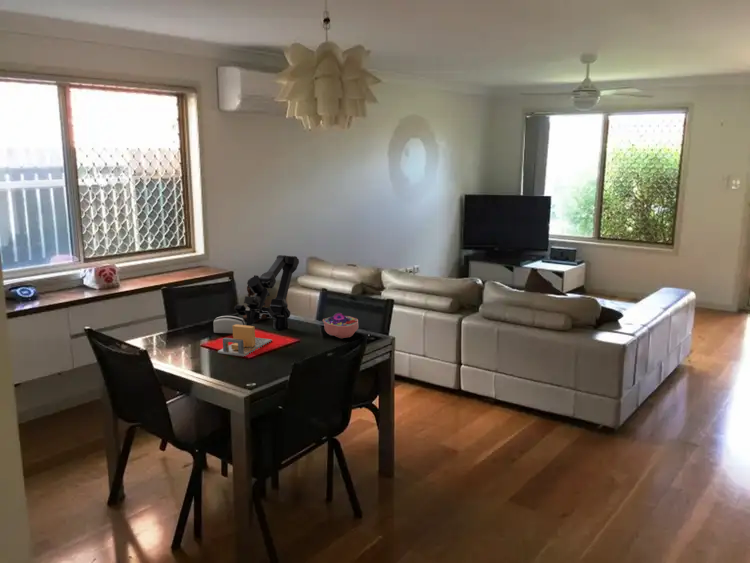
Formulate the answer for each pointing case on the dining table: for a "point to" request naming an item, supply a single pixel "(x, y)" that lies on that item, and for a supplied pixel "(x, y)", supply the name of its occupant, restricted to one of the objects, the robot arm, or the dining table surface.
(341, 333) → the cell model
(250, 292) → the brown round-based stand
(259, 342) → the baseplate
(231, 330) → the grey napkin holder
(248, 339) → the tan chunky block
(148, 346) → the dining table surface
